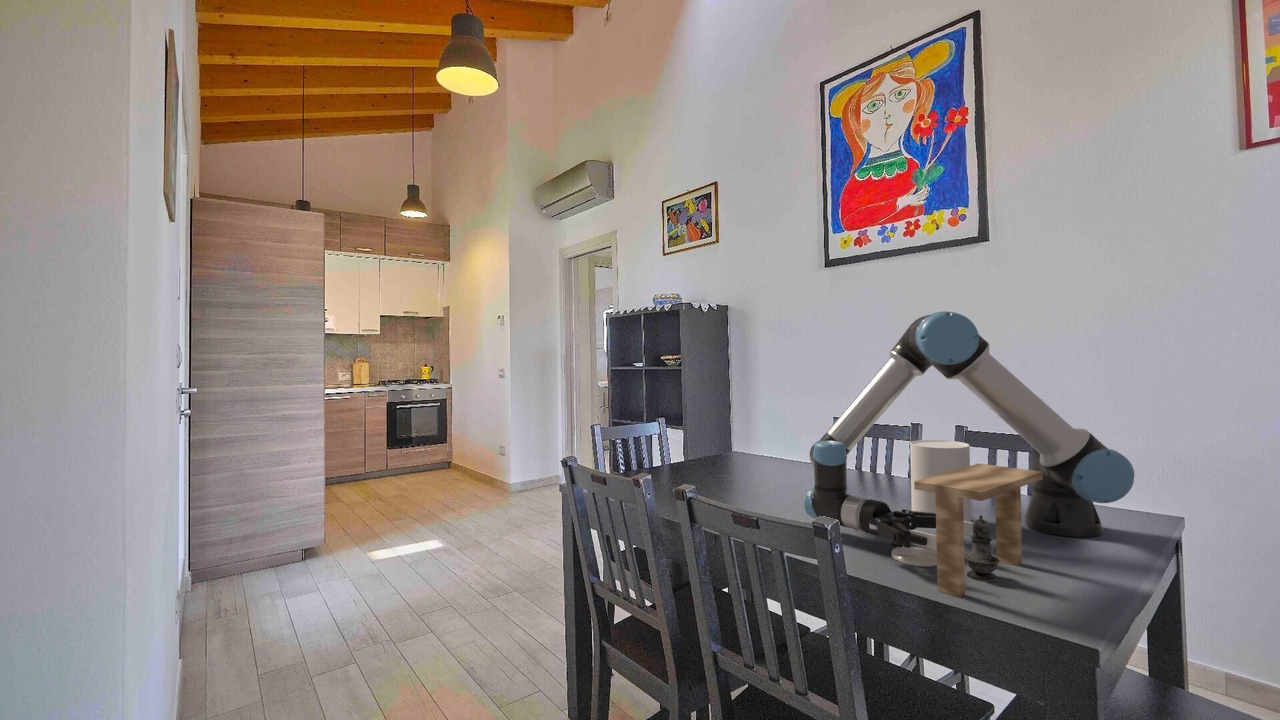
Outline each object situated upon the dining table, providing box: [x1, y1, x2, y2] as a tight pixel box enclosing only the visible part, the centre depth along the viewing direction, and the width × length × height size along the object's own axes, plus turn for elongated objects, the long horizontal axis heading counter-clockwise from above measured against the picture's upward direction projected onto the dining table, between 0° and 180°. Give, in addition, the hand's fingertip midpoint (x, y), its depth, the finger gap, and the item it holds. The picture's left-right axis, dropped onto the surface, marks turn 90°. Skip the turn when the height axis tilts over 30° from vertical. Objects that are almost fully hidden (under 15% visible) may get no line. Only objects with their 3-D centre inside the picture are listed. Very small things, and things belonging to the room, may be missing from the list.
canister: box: [909, 439, 972, 522], centre depth 150 cm, size 14×14×20 cm
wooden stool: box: [914, 463, 1043, 598], centre depth 114 cm, size 12×26×20 cm, turn 126°
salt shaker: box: [964, 514, 1000, 583], centre depth 114 cm, size 6×6×12 cm
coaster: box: [890, 546, 937, 568], centre depth 125 cm, size 10×10×1 cm
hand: (963, 537), depth 116 cm, fingers open, 13 cm apart
